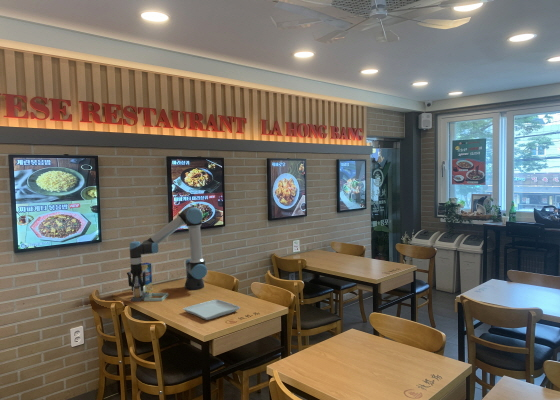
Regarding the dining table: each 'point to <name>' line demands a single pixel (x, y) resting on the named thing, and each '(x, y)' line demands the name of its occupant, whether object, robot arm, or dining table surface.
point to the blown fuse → (137, 292)
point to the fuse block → (140, 298)
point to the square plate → (211, 309)
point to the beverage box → (146, 268)
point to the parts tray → (156, 298)
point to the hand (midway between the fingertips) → (137, 295)
